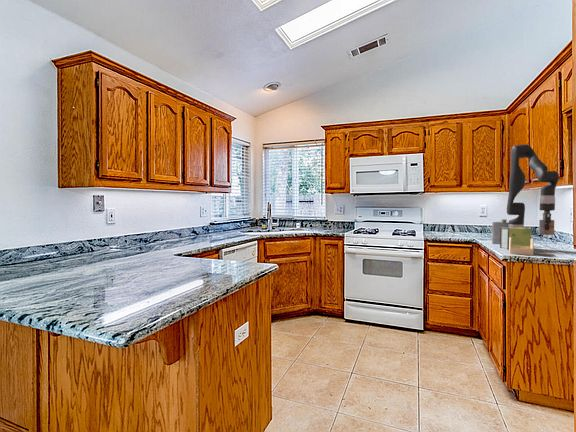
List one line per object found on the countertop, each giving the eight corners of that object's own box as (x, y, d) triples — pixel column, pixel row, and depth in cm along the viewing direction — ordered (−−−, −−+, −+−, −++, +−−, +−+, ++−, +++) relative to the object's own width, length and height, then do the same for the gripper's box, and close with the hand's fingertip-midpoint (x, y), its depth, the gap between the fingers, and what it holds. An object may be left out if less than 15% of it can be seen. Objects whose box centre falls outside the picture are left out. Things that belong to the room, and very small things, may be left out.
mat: (535, 253, 215) (535, 252, 215) (553, 255, 210) (553, 254, 210) (537, 256, 206) (537, 255, 206) (556, 257, 202) (556, 256, 202)
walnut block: (538, 233, 212) (539, 219, 211) (552, 234, 208) (553, 220, 208) (539, 234, 208) (540, 220, 207) (553, 234, 204) (554, 220, 203)
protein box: (531, 250, 228) (531, 228, 227) (508, 250, 228) (509, 228, 227) (520, 248, 238) (521, 227, 238) (499, 248, 239) (499, 227, 238)
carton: (508, 251, 224) (509, 237, 224) (531, 253, 218) (531, 238, 217) (509, 254, 213) (510, 239, 212) (533, 256, 206) (533, 240, 206)
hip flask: (515, 245, 257) (516, 219, 256) (515, 245, 254) (516, 219, 253) (492, 243, 268) (492, 218, 267) (491, 243, 265) (492, 219, 264)
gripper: (538, 202, 215) (537, 228, 216) (541, 202, 203) (540, 230, 204) (553, 202, 211) (552, 229, 212) (556, 202, 199) (555, 231, 200)
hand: (546, 229), depth 208 cm, fingers closed on walnut block, 5 cm apart
